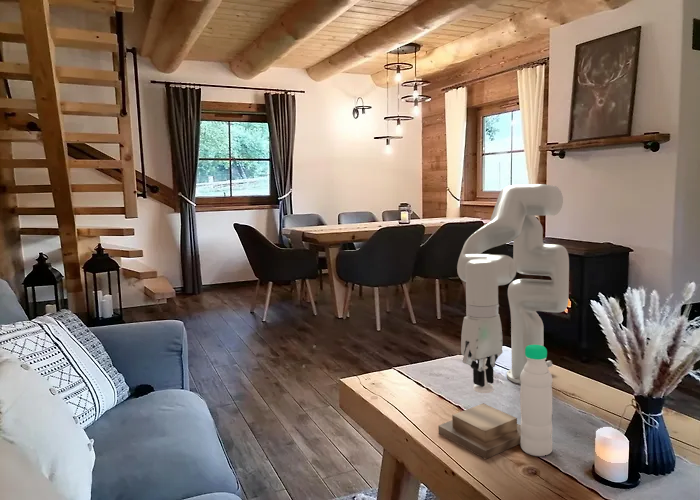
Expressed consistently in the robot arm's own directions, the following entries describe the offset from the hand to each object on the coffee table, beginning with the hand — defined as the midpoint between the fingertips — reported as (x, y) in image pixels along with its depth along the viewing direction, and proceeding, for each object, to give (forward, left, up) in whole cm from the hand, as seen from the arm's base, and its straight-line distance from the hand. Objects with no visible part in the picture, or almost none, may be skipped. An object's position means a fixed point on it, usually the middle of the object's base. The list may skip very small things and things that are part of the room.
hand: (483, 382), depth 130 cm
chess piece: (0, 0, -2) cm, 2 cm away
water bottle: (-4, +12, -14) cm, 19 cm away
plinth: (0, 0, -14) cm, 14 cm away
